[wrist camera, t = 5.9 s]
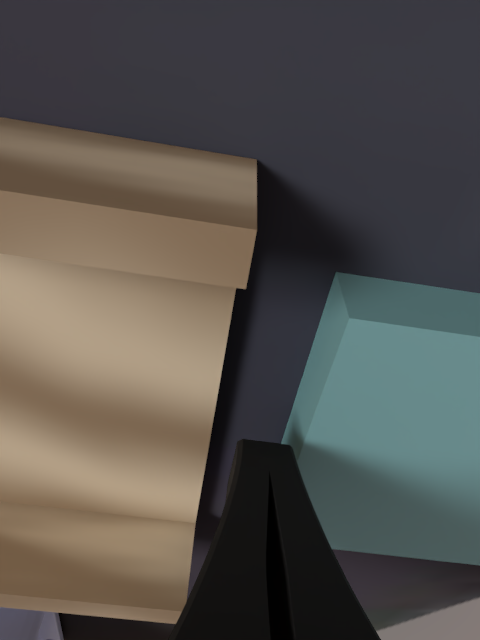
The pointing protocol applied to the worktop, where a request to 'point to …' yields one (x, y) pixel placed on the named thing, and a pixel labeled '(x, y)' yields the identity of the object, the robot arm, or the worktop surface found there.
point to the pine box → (111, 361)
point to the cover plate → (393, 420)
